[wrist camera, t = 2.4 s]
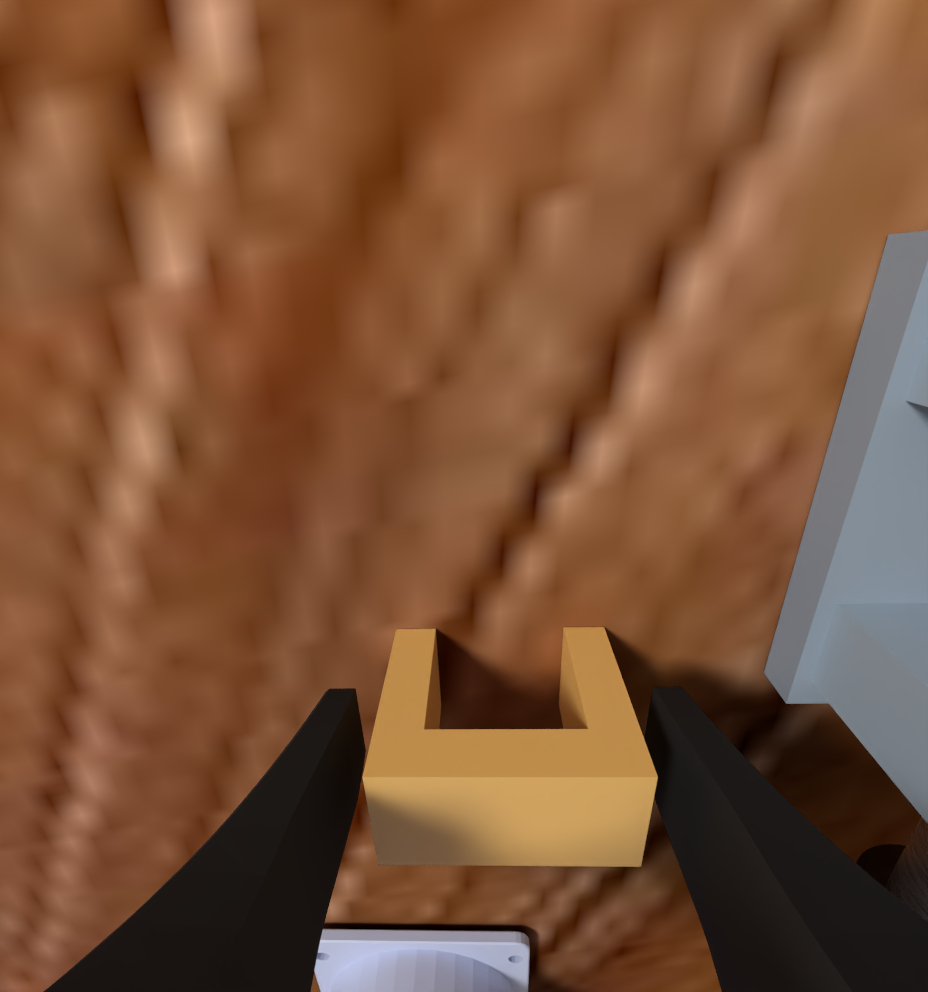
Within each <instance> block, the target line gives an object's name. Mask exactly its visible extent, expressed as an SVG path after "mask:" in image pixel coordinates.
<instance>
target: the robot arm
mask: <svg viewBox="0 0 928 992" xmlns="http://www.w3.org/2000/svg"><path fill="white" fill-rule="evenodd" d="M644 740H645V743H646V745H647V748H648V751H649V754H650V756H651V759H652V762H653V765H654V768H655V770H656V773H657V776H658V780H657V785H656V790H655V795H654V797H655V800H656V803H657V806H658V809H659V811H660V814H661V817H662V820H663V822H664V825H665V828H666V830H667V833H668V836H669V839H670V841H671V844H672V847H673V849H674V852H675V855H676V857H677V860H678V863H679V865H680V868H681V870H682V873H683V876H684V878H685V881H686V884H687V886H688V889H689V892H690V894H691V897H692V900H693V902H694V905H695V908H696V910H697V913H698V916H699V919H700V922H701V924H702V927H703V930H704V933H705V936H706V939H707V942H708V945H709V948H710V952H711V955H712V959H713V962H714V966H715V969H716V973H717V976H718V980H719V983H720V986H721V990H722V992H928V921H927V920H925V919H924V918H923V917H922V916H920V915H919V914H918V913H916V912H915V911H914V910H913V909H911V908H910V907H909V906H907V905H906V904H905V903H904V902H902V901H901V900H900V899H898V898H897V897H896V896H895V895H893V894H892V893H891V892H890V891H888V890H887V889H886V888H885V887H884V886H882V885H881V884H880V883H879V882H877V881H876V880H875V879H874V878H873V877H871V876H870V875H869V874H868V873H867V872H866V871H864V870H863V869H862V868H861V867H860V866H859V865H857V864H856V863H855V862H854V861H853V860H852V859H850V858H849V857H848V856H847V855H846V854H845V853H844V852H842V851H841V850H840V849H839V848H838V847H837V846H835V845H834V844H833V843H832V842H831V841H830V840H829V839H828V838H827V837H826V836H824V835H823V834H822V833H821V832H820V831H819V830H818V829H817V828H816V827H815V826H814V825H812V824H811V823H810V822H809V821H808V820H807V819H806V818H805V817H804V816H803V815H802V814H801V813H800V812H799V811H798V810H797V809H796V808H795V807H794V806H793V805H792V804H790V803H789V802H788V801H787V800H786V799H785V798H784V797H783V796H782V795H781V794H780V793H779V792H778V791H777V790H776V789H775V788H774V787H773V786H772V785H771V784H770V783H769V782H768V781H767V780H766V779H765V778H764V777H763V776H762V775H761V773H760V772H759V771H758V770H757V769H756V768H755V767H754V766H753V765H752V764H751V763H750V762H749V761H748V760H747V759H746V758H745V757H744V756H743V755H742V754H741V753H740V752H739V751H738V749H737V748H736V747H735V746H734V745H733V744H732V743H731V742H730V741H729V740H728V739H727V738H726V736H725V735H724V734H723V733H722V732H721V731H720V730H719V729H718V728H717V727H716V725H715V724H714V723H713V722H712V721H711V720H710V719H709V718H708V716H707V715H706V714H705V713H704V712H703V711H702V710H701V709H700V707H699V706H698V705H697V704H696V703H695V702H694V701H693V700H692V698H691V697H690V696H689V695H688V694H687V693H686V692H685V691H684V690H683V689H682V688H681V687H653V690H652V696H651V702H650V708H649V714H648V720H647V726H646V732H645V738H644ZM365 752H366V750H365V744H364V738H363V731H362V725H361V719H360V713H359V707H358V701H357V695H356V689H329V690H328V691H326V692H325V694H324V695H323V697H322V698H321V700H320V701H319V702H318V704H317V705H316V707H315V708H314V710H313V711H312V712H311V714H310V715H309V717H308V718H307V720H306V721H305V722H304V724H303V725H302V726H301V728H300V729H299V731H298V732H297V733H296V735H295V736H294V737H293V739H292V740H291V741H290V743H289V744H288V745H287V747H286V748H285V749H284V751H283V752H282V753H281V754H280V756H279V757H278V758H277V760H276V761H275V762H274V763H273V765H272V766H271V767H270V769H269V770H268V771H267V772H266V774H265V775H264V776H263V777H262V779H261V780H260V781H259V782H258V784H257V785H256V786H255V787H254V788H253V789H252V791H251V792H250V793H249V794H248V795H247V797H246V798H245V799H244V800H243V801H242V802H241V804H240V805H239V806H238V807H237V808H236V810H235V811H234V812H233V813H232V814H231V815H230V817H229V818H228V819H227V820H226V821H225V822H224V823H223V824H222V825H221V827H220V828H219V829H218V830H217V831H216V832H215V833H214V834H213V835H212V836H211V837H210V839H209V840H208V841H207V842H206V843H205V844H204V845H203V846H202V847H201V848H200V849H199V850H198V851H197V852H196V853H195V854H194V855H193V856H192V857H191V859H190V860H189V861H188V862H187V863H186V864H185V865H184V866H183V867H182V868H181V869H180V870H179V871H178V872H177V873H176V874H175V875H173V876H172V877H171V878H170V879H169V880H168V881H167V882H166V883H165V884H164V885H163V886H162V887H161V888H160V889H159V890H158V891H157V892H156V893H155V894H154V895H153V896H152V897H151V898H150V899H149V900H148V901H147V902H146V903H145V904H144V905H143V906H141V907H140V908H139V909H138V910H137V911H136V912H135V913H134V914H133V915H132V916H131V917H130V918H128V919H127V920H126V921H125V922H124V923H123V924H122V925H121V926H119V927H118V928H117V929H116V930H115V931H114V932H113V933H111V934H110V935H109V936H108V937H107V938H106V939H105V940H103V941H102V942H101V943H100V944H99V945H98V946H97V947H95V948H94V949H93V950H92V951H91V952H90V953H89V954H87V955H86V956H85V957H84V958H83V959H82V960H81V961H79V962H78V963H77V964H76V965H75V966H74V967H73V968H71V969H70V970H69V971H68V972H67V973H66V974H64V975H63V976H62V977H61V978H60V979H58V980H57V981H56V982H55V983H54V984H52V985H51V986H50V987H49V988H48V989H46V990H45V991H44V992H310V991H311V985H312V980H313V975H314V971H315V974H316V978H317V981H318V984H319V987H320V991H321V992H528V984H529V959H530V946H529V938H528V936H527V935H526V934H524V933H522V932H518V931H464V930H382V929H323V926H324V922H325V918H326V914H327V910H328V906H329V903H330V899H331V895H332V892H333V888H334V885H335V881H336V877H337V874H338V870H339V866H340V863H341V859H342V855H343V852H344V848H345V844H346V841H347V837H348V833H349V830H350V826H351V822H352V819H353V815H354V811H355V807H356V804H357V800H358V795H359V789H360V783H361V777H362V771H363V765H364V758H365Z"/></svg>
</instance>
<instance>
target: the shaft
mask: <svg viewBox="0 0 928 992" xmlns="http://www.w3.org/2000/svg"><path fill="white" fill-rule="evenodd" d="M856 864H857V865H859V866H860V867H861V868H862V869H863V870H864V871H866V872H867V873H868V874H869V875H870V876H871V877H873V878H874V879H875V880H876V881H877V882H879V883H880V884H881V885H882V886H884V887H885V888H886V889H887V890H888V891H890V892H891V893H892V894H893V895H895V896H896V897H897V898H898V899H900V900H901V901H902V902H904V903H905V904H906V905H907V906H909V907H910V908H911V909H913V910H914V911H915V912H916V913H918V914H919V915H920V916H922V917H923V918H924V919H925V920H927V921H928V824H927V822H926V821H925V820H924V819H923V817H922V818H921V819H920V821H919V823H918V825H917V827H916V829H915V830H914V832H913V834H912V836H911V838H910V840H909V842H908V843H907V845H906V846H902V845H893V844H887V845H879V846H874V847H872V848H870V849H868V850H866V851H865V852H864V853H863V854H862V855H861V856H860V857H859V859H858V861H857V863H856Z"/></svg>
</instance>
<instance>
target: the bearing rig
mask: <svg viewBox="0 0 928 992" xmlns="http://www.w3.org/2000/svg"><path fill="white" fill-rule="evenodd" d="M764 674H765V675H766V676H767V678H768V679H769V681H770V682H771V683H772V685H773V686H774V687H775V689H776V690H777V692H778V693H779V694H780V696H781V697H782V699H783V700H784V701H785V703H786V704H816V703H829V704H830V705H831V707H832V708H833V709H834V710H835V711H836V713H837V714H838V715H839V716H840V718H841V719H842V720H843V721H844V722H845V724H846V725H847V726H848V727H849V729H850V730H851V731H852V732H853V733H854V735H855V736H856V737H857V738H858V740H859V741H860V742H861V743H862V744H863V746H864V747H865V748H866V749H867V750H868V752H869V753H870V754H871V755H872V757H873V758H874V759H875V760H876V761H877V763H878V764H879V765H880V766H881V768H882V769H883V770H884V771H885V772H886V774H887V775H888V776H889V777H890V779H891V780H892V781H893V782H894V783H895V785H896V786H897V787H898V788H899V789H900V791H901V792H902V793H903V794H904V796H905V797H906V798H907V799H908V800H909V802H910V803H911V804H912V805H913V807H914V808H915V809H916V810H917V811H918V813H919V814H920V815H921V816H922V817H923V819H924V820H925V821H926V822H927V824H928V230H927V231H917V232H907V233H897V234H888V238H887V241H886V245H885V248H884V252H883V255H882V259H881V262H880V266H879V269H878V273H877V276H876V280H875V284H874V287H873V291H872V294H871V298H870V301H869V305H868V308H867V312H866V315H865V319H864V322H863V326H862V329H861V333H860V336H859V340H858V343H857V347H856V350H855V354H854V357H853V361H852V364H851V368H850V371H849V375H848V379H847V382H846V386H845V389H844V393H843V396H842V400H841V403H840V407H839V410H838V414H837V417H836V421H835V424H834V428H833V431H832V435H831V438H830V442H829V445H828V449H827V452H826V456H825V459H824V463H823V467H822V470H821V474H820V477H819V481H818V484H817V488H816V491H815V495H814V498H813V502H812V505H811V509H810V512H809V516H808V519H807V523H806V526H805V530H804V533H803V537H802V540H801V544H800V547H799V551H798V555H797V558H796V562H795V565H794V569H793V572H792V576H791V579H790V583H789V586H788V590H787V593H786V597H785V600H784V604H783V607H782V611H781V614H780V618H779V621H778V625H777V628H776V632H775V635H774V639H773V642H772V646H771V650H770V653H769V657H768V660H767V664H766V667H765V671H764Z"/></svg>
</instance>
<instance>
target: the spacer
mask: <svg viewBox="0 0 928 992" xmlns="http://www.w3.org/2000/svg"><path fill="white" fill-rule="evenodd" d="M559 708H560V713H561V718H562V724H563V729H439V726H440V714H441V694H440V680H439V666H438V652H437V638H436V629H396V633H395V637H394V642H393V646H392V651H391V655H390V659H389V664H388V668H387V672H386V677H385V681H384V686H383V690H382V694H381V699H380V703H379V707H378V712H377V716H376V721H375V725H374V729H373V734H372V738H371V742H370V747H369V751H368V756H367V760H366V764H365V769H364V773H363V782H364V788H365V794H366V799H367V805H368V811H369V816H370V822H371V828H372V833H373V839H374V845H375V851H376V856H377V862H378V865H475V866H613V867H641V863H642V858H643V853H644V848H645V843H646V837H647V832H648V827H649V822H650V816H651V811H652V806H653V801H654V795H655V790H656V785H657V780H658V776H657V773H656V770H655V768H654V765H653V762H652V759H651V756H650V754H649V751H648V748H647V745H646V743H645V740H644V737H643V734H642V731H641V729H640V726H639V723H638V720H637V718H636V715H635V712H634V709H633V706H632V704H631V701H630V698H629V695H628V692H627V690H626V687H625V684H624V681H623V679H622V676H621V673H620V670H619V667H618V665H617V662H616V659H615V656H614V653H613V651H612V648H611V645H610V642H609V640H608V637H607V634H606V631H605V628H604V627H568V628H564V629H563V645H562V661H561V678H560V694H559Z"/></svg>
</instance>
